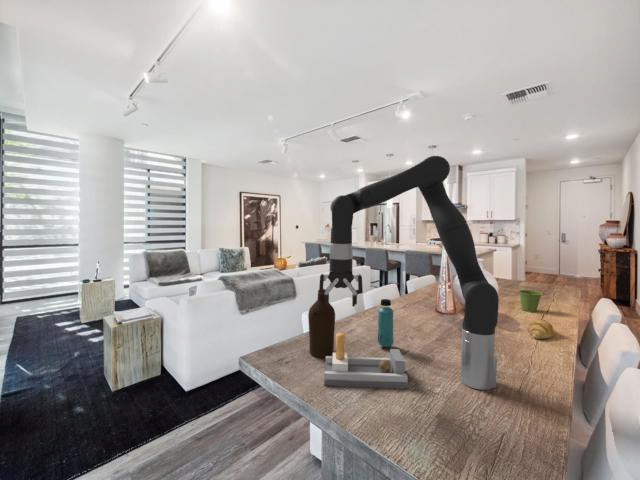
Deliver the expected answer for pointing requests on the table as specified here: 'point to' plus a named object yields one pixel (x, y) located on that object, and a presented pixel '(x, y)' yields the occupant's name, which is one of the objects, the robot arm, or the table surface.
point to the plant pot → (529, 300)
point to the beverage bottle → (385, 324)
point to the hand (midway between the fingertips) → (340, 305)
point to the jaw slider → (340, 355)
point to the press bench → (368, 372)
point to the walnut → (384, 366)
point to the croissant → (540, 329)
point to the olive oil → (321, 328)
